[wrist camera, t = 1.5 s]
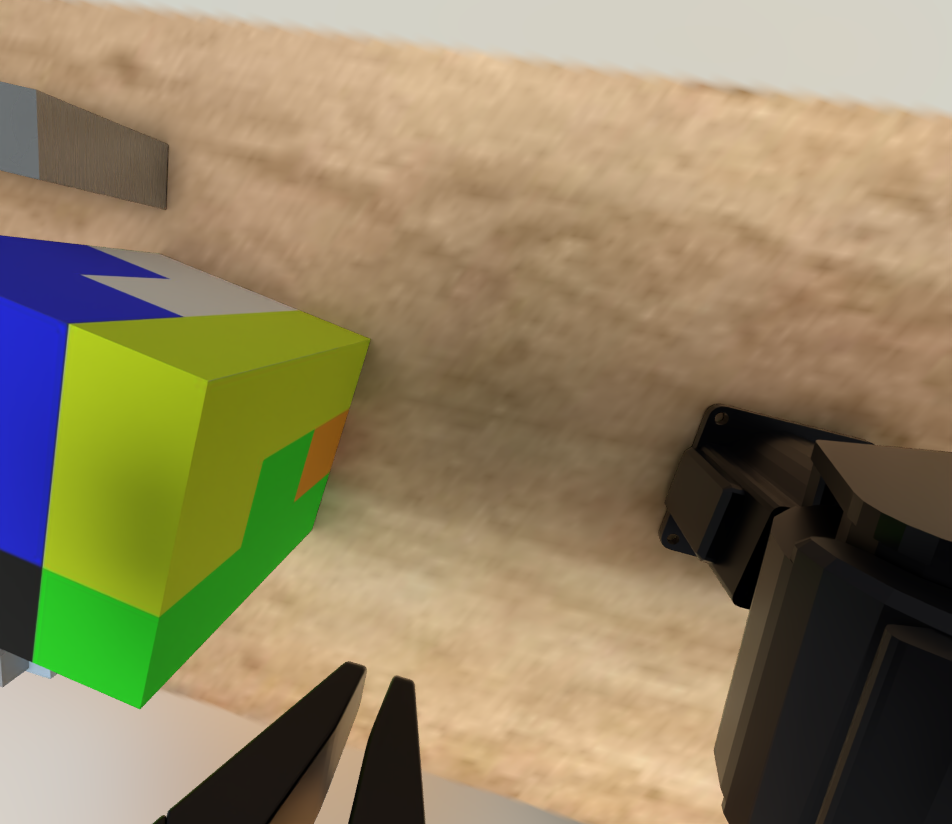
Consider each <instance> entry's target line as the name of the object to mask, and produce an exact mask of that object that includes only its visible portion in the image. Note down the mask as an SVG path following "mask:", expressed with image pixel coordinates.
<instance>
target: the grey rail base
mask: <svg viewBox="0 0 952 824" xmlns="http://www.w3.org/2000/svg"><path fill="white" fill-rule="evenodd" d="M167 156H168V144H166V143H163V142H161V141H159V140H156V139H154V138H151V137H149V136H146V135H144V134H142V133H139V132H137V131H134V130H132V129H130V128H127V127H125V126H122V125H120V124H118V123H115V122H113V121H110V120H108V119H105V118H103V117H101V116H98V115H96V114H93V113H91V112H89V111H86V110H84V109H81V108H79V107H76V106H74V105H72V104H69V103H67V102H64V101H62V100H60V99H57V98H55V97H52V96H50V95H47V94H45V93H43V92H40V91H38V90H35V89H30V88H26V87H22V86H17V85H13V84H8V83H4V82H0V170H1V171H6V172H10V173H14V174H18V175H22V176H26V177H30V178H35V179H39V180H43V181H47V182H51V183H56V184H60V185H64V186H68V187H73V188H77V189H81V190H85V191H90V192H94V193H98V194H102V195H107V196H111V197H115V198H119V199H124V200H128V201H132V202H136V203H141V204H145V205H149V206H153V207H158V208H162V209H166V184H167Z"/></svg>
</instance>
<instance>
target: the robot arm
mask: <svg viewBox="0 0 952 824" xmlns="http://www.w3.org/2000/svg"><path fill="white" fill-rule="evenodd" d="M720 412H724V414H725V415H724V419H723V420H722V421H720V422H715V416H716V415H717V414H718V413H720ZM665 505H666V507H667V509H668V510H667V512H666V515H665V517H664V520H663V522H662V525H661V528H660V530H659V535H658V536H659V539H660V541H661V543H662V544H663V546H664V547H666V548H668V549H670V550H674V551H678V552H681V553H685V554H689V555H692V556H696V557H698V559H699V560H700V561H703V562H707V563H708V564H709V566H710V567H711V569H712V570H713V572H714V573H715V575H716V577H717V578H718V580H719V581H720V583H721V584H722V586H723V587H724V589H725V590H726V592H727V594H728V595H729V597H730V598H731V600H732V601H733V603H734V604H735V605H737V606H739V607H742V608H745V609H749V610H750V611H749V615H748V618H747V622H746V626H745V630H744V634H743V638H742V641H741V645H740V649H739V653H738V657H737V661H736V664H735V668H734V672H733V676H732V680H731V684H730V687H729V691H728V695H727V699H726V703H725V706H724V710H723V714H722V718H721V722H720V726H719V730H718V734H717V738H716V743H715V747H714V755H715V761H716V766H717V772H718V777H719V783H720V788H721V790H722V793H723V796H724V798H723V802H722V809H723V813H724V815H725V817H726V819H727V821H728V823H729V824H952V452H944V451H933V450H923V449H912V448H902V447H891V446H881V445H875V444H873V443H870V442H868V441H866V440H863V439H859V438H855V437H851V436H847V435H843V434H839V433H835V432H831V431H827V430H823V429H819V428H815V427H811V426H807V425H803V424H799V423H795V422H791V421H787V420H783V419H779V418H775V417H771V416H767V415H763V414H759V413H755V412H751V411H747V410H743V409H739V408H735V407H731V406H727V405H723V404H716V405H712V406H711V407H709V408H708V409H707V411H706V412H705V415H704V417H703V420H702V422H701V425H700V428H699V430H698V433H697V435H696V438H695V440H694V443H693V446H692V447H690V448H689V449H687V450H685V451H684V453H683V456H682V458H681V461H680V464H679V466H678V469H677V471H676V474H675V477H674V479H673V482H672V484H671V487H670V489H669V492H668V495H667V497H666V500H665ZM670 534H676V537H675V538H674V539H672V540H668V539H667V537H668V536H669V535H670ZM366 673H367V669H366V667H365V666H363V665H360V664H357V663H353V662H349V661H348V662H345V663H344V664H342V665H341V666H340V667H339V668H338V669H336V670H335V671H334V672H333V673H332V674H330V675H329V676H328V677H327V678H326V679H325V680H323V681H322V682H321V683H320V684H319V685H317V686H316V687H315V688H314V689H313V690H311V691H310V692H309V693H308V694H307V695H305V696H304V697H303V698H302V699H301V700H299V701H298V702H297V703H296V704H295V705H294V706H292V707H291V708H290V709H289V710H288V711H286V712H285V713H284V714H283V715H282V716H280V717H279V718H278V719H277V720H276V721H274V722H273V723H272V724H271V725H270V726H269V727H267V728H266V729H265V730H264V731H263V732H261V733H260V734H259V735H258V736H257V737H256V738H254V739H253V740H252V741H251V742H249V743H248V744H247V745H246V746H245V747H244V748H242V749H241V750H240V751H239V752H238V753H236V754H235V755H234V756H233V757H232V758H230V759H229V760H228V761H227V762H226V763H225V764H223V765H222V766H221V767H220V768H219V769H217V770H216V771H215V772H214V773H213V774H212V775H210V776H209V777H208V778H207V779H206V780H204V781H203V782H202V783H201V784H199V785H198V786H197V787H196V788H195V789H194V790H192V791H191V792H190V793H189V794H188V795H187V796H185V797H184V798H183V799H182V800H180V801H179V802H178V803H177V804H176V805H174V806H173V807H172V808H171V809H170V810H169V811H168V813H167V818H166V816H165V815H163V816H161V817H160V818H159V819H157V820H156V821H155V822H154V823H153V824H314V822H315V820H316V818H317V815H318V813H319V811H320V809H321V807H322V804H323V802H324V799H325V797H326V794H327V792H328V789H329V786H330V784H331V781H332V778H333V776H334V773H335V770H336V768H337V765H338V763H339V760H340V757H341V754H342V752H343V749H344V747H345V744H346V741H347V739H348V736H349V733H350V731H351V728H352V725H353V723H354V720H355V717H356V715H357V712H358V709H359V706H360V702H361V698H362V693H363V688H364V683H365V678H366ZM348 824H425V812H424V798H423V785H422V772H421V759H420V746H419V733H418V720H417V707H416V694H415V684H414V682H413V681H412V680H410V679H406V678H403V677H400V676H394V677H393V678H392V681H391V683H390V685H389V688H388V690H387V693H386V695H385V698H384V700H383V703H382V705H381V708H380V710H379V713H378V715H377V717H376V720H375V722H374V725H373V727H372V730H371V733H370V736H369V739H368V742H367V746H366V750H365V754H364V758H363V763H362V767H361V771H360V775H359V780H358V784H357V788H356V793H355V797H354V801H353V805H352V810H351V814H350V818H349V822H348Z"/></svg>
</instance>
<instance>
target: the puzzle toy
mask: <svg viewBox="0 0 952 824" xmlns="http://www.w3.org/2000/svg"><path fill="white" fill-rule="evenodd" d="M370 340H371V339H369V338H367V337H364V336H362V335H359V334H357V333H354V332H352V331H349V330H347V329H344V328H342V327H339V326H337V325H334V324H332V323H329V322H327V321H325V320H322V319H320V318H317V317H315V316H312V315H310V314H307V313H305V312H302V311H300V310H297V309H295V308H292V307H290V306H287V305H285V304H282V303H280V302H278V301H275V300H273V299H270V298H268V297H265V296H263V295H260V294H258V293H255V292H253V291H250V290H248V289H245V288H243V287H240V286H238V285H235V284H233V283H231V282H228V281H226V280H223V279H221V278H218V277H216V276H213V275H211V274H208V273H206V272H203V271H201V270H198V269H196V268H193V267H191V266H188V265H186V264H183V263H181V262H179V261H176V260H174V259H171V258H169V257H166V256H164V255H161V254H158V253H149V252H140V251H132V250H123V249H114V248H106V247H97V246H88V245H79V244H71V243H62V242H53V241H45V240H36V239H27V238H19V237H10V236H1V235H0V649H2V650H5V651H7V652H9V653H11V654H14V655H16V656H18V657H21V658H23V659H25V660H28V661H30V662H32V663H35V664H37V665H39V666H41V667H44V668H46V669H48V670H51V671H53V672H55V673H58V674H60V675H62V676H64V677H67V678H69V679H71V680H74V681H76V682H78V683H81V684H83V685H85V686H88V687H90V688H92V689H94V690H97V691H99V692H101V693H104V694H106V695H108V696H111V697H113V698H115V699H118V700H120V701H122V702H124V703H127V704H129V705H131V706H134V707H136V708H138V709H141V707H143V706H144V705H145V704H146V702H147V701H148V700H149V699H150V698H151V697H152V696H153V695H154V694H155V693H156V692H157V691H158V690H159V689H160V688H161V687H162V686H163V685H164V684H165V683H166V682H167V681H168V680H169V679H170V678H171V677H172V675H173V674H174V673H175V672H176V671H177V670H178V669H179V668H180V667H181V666H182V665H183V664H184V663H185V662H186V661H187V660H188V659H189V658H190V657H191V656H192V655H193V654H194V653H195V651H196V650H197V649H198V648H199V647H200V646H201V645H202V644H203V643H204V642H205V641H206V640H207V639H208V638H209V637H210V636H211V635H212V634H213V633H214V632H215V631H216V630H217V629H218V627H219V626H220V625H221V624H222V623H223V622H224V621H225V620H226V619H227V618H228V617H229V616H230V615H231V614H232V613H233V612H234V611H235V610H236V609H237V608H238V607H239V606H240V605H241V603H242V602H243V601H244V600H245V599H246V598H247V597H248V596H249V595H250V594H251V593H252V592H253V591H254V590H255V589H256V588H257V587H258V586H259V585H260V584H261V583H262V582H263V581H264V579H265V578H266V577H267V576H268V575H269V574H270V573H271V572H272V571H273V570H274V569H275V568H276V567H277V566H278V565H279V564H280V563H281V562H282V561H283V560H284V559H285V558H286V557H287V555H288V554H289V553H290V552H291V551H292V550H293V549H294V548H295V547H296V546H297V545H298V544H299V543H300V542H301V541H302V540H303V539H304V538H305V537H306V536H307V535H308V534H309V533H310V531H311V530H312V528H313V525H314V521H315V518H316V515H317V512H318V508H319V505H320V502H321V499H322V495H323V492H324V489H325V486H326V483H327V479H328V476H329V473H330V470H331V466H332V463H333V460H334V457H335V453H336V450H337V447H338V444H339V440H340V437H341V434H342V431H343V427H344V424H345V421H346V418H347V414H348V411H349V408H350V405H351V401H352V398H353V395H354V392H355V389H356V385H357V382H358V379H359V376H360V372H361V369H362V366H363V363H364V359H365V356H366V353H367V350H368V346H369V343H370Z"/></svg>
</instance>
